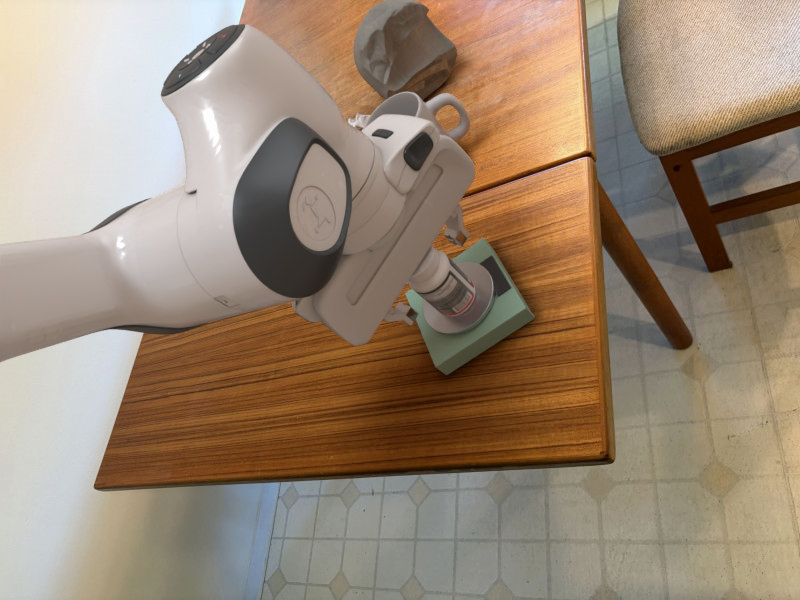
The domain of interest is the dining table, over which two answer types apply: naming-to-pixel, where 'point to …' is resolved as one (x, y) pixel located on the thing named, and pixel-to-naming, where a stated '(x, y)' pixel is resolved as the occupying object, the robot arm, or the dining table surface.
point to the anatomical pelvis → (359, 121)
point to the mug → (424, 111)
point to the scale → (493, 328)
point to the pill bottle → (442, 283)
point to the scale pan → (474, 312)
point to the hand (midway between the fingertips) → (436, 278)
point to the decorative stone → (402, 50)
